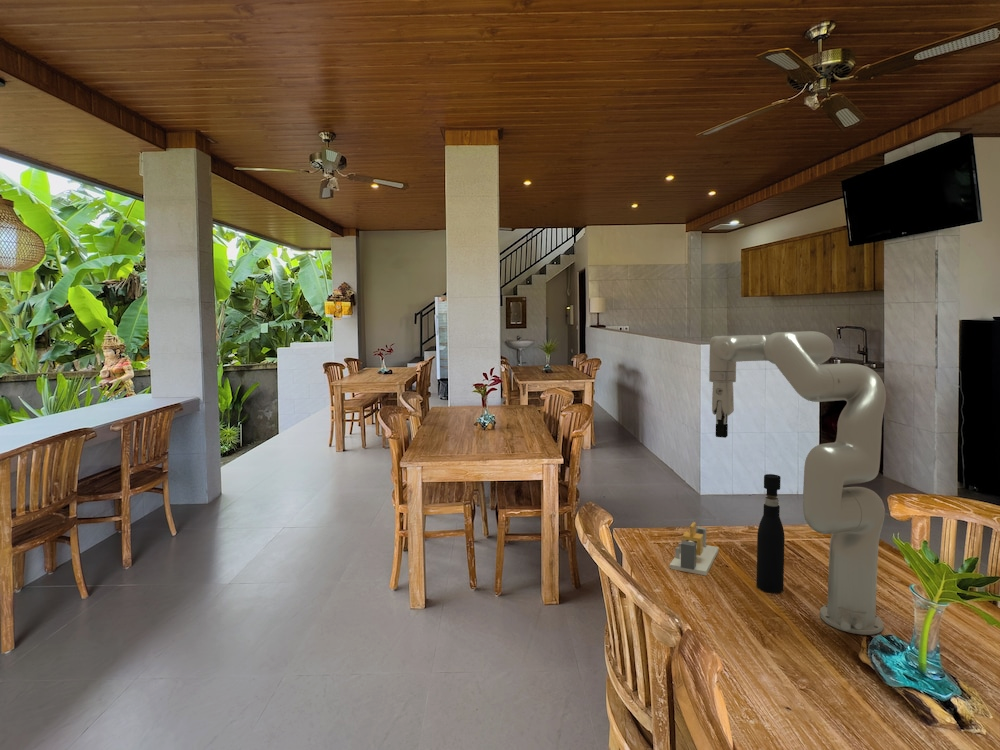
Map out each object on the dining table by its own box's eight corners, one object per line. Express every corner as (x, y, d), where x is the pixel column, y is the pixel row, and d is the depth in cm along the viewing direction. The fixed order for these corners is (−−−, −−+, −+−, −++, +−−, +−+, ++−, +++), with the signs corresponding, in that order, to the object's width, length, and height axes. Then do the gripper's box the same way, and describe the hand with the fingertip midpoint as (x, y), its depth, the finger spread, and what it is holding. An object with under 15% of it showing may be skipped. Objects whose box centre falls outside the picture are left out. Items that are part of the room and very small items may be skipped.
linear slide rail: (705, 576, 159) (706, 548, 159) (669, 569, 164) (669, 541, 164) (718, 550, 177) (719, 525, 176) (685, 545, 182) (685, 520, 181)
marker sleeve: (700, 555, 165) (700, 527, 164) (682, 552, 167) (682, 525, 167) (703, 551, 168) (703, 523, 168) (685, 547, 171) (685, 520, 170)
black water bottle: (755, 590, 150) (757, 477, 148) (757, 580, 156) (759, 471, 154) (782, 595, 147) (785, 480, 145) (783, 585, 153) (786, 474, 151)
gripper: (731, 379, 166) (730, 442, 167) (739, 375, 179) (738, 433, 180) (704, 378, 170) (703, 440, 171) (713, 374, 183) (713, 431, 184)
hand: (721, 436), depth 176 cm, fingers closed
